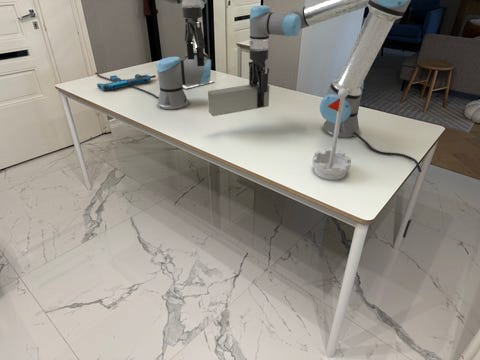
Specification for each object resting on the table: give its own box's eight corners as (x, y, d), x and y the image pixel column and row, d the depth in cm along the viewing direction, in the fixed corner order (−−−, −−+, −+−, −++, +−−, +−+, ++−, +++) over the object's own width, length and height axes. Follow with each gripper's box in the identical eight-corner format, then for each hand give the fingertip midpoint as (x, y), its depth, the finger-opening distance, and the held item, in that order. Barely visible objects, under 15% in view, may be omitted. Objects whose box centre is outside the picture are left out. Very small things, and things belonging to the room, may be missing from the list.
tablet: (158, 77, 218) (158, 76, 218) (185, 71, 229) (185, 70, 229) (186, 89, 198) (186, 88, 197) (213, 82, 209) (213, 81, 208)
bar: (263, 102, 152) (264, 82, 147) (268, 106, 148) (269, 85, 143) (209, 112, 143) (207, 91, 138) (213, 116, 139) (211, 94, 134)
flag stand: (334, 159, 128) (348, 80, 112) (356, 176, 118) (375, 92, 101) (304, 166, 124) (314, 84, 108) (324, 184, 114) (338, 97, 97)
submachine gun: (141, 68, 224) (160, 74, 207) (142, 74, 226) (160, 81, 209) (89, 78, 206) (105, 86, 189) (91, 85, 207) (106, 93, 191)
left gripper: (174, 4, 141) (179, 57, 152) (192, 9, 122) (196, 70, 133) (191, 3, 144) (195, 55, 155) (211, 8, 124) (214, 68, 135)
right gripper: (241, 45, 141) (241, 99, 154) (261, 54, 128) (259, 113, 140) (257, 44, 144) (255, 97, 156) (278, 52, 130) (275, 110, 143)
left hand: (195, 62), depth 144 cm, fingers open, 13 cm apart
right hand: (257, 104), depth 148 cm, fingers closed on bar, 5 cm apart
